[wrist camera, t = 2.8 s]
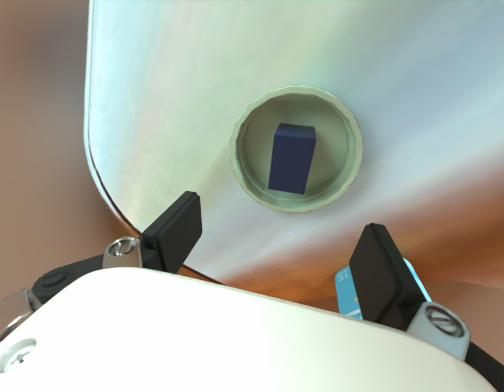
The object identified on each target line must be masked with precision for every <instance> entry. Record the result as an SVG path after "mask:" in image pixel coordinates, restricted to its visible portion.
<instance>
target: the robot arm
mask: <svg viewBox="0 0 504 392" xmlns="http://www.w3.org/2000/svg"><path fill="white" fill-rule="evenodd" d="M201 234H202V220H201V206H200V196H199V195H197V193H196V192H191V191H186V192H185V193H184V194H182V195H181V196H180V197H179V198H178V199H177V200H176V201H175V202H174V203H173V204H172V205H171V206H170V207H169V208H168V209H167V210H166V211H165V212H164V213H163V214H161V215H160V216H159V217H158V218H157V219H156V220H155V221H154V222H153V223H152V224H151V225H150V226H149V227H148V228H147V229H146V230H145V231H144V232H143V233H142V234H141V235H140V236H139V237H138V238H137V237H133V236H126V237H121V238H118V239H116V240H114V241H112V242H111V243H110V244H108V246H107V247H106V248H105V250H104V254H101V255H98V256H95V257H92V258H89V259H85V260H82V261H79V262H75V263H72V264H69V265H65V266H63V267H59V268H57V269H54V270H51V271H50V272H48V273H46V274H44V275H43V276H42V277H40V278H39V279H38V280H37V281H36V282H35V283H34V286H33V287H32V288H31V289H29V290H27V289H26V288H24V289H22V290H20V291H18V292H16V293H13V294H11V295H9V296H7V297H5V298H3V299H1V300H0V392H504V365H502V364H501V363H499V362H498V361H497V360H495V359H494V358H493V357H491V356H490V355H489V354H487V353H486V352H485V351H483V350H482V349H481V348H479V347H478V346H476V345H475V344H474V343H473V342H471V341H470V339H471V333H470V331H469V329H468V327H467V325H466V324H465V323H464V321H463V320H462V319H461V318H460V317H459V316H458V315H457V314H455V313H454V312H453V311H451V310H450V309H448V308H446V307H445V306H443V305H441V304H438V303H435V302H428V301H427V299H426V297H425V296H424V294H423V292H422V290H421V288H420V287H419V285H418V283H417V282H416V280H415V278H414V276H413V275H412V273H411V271H410V269H409V268H408V266H407V264H406V262H405V261H404V259H403V257H402V255H401V254H400V252H399V250H398V248H397V247H396V245H395V243H394V241H393V240H392V238H391V236H390V234H389V233H388V231H387V229H386V227H385V226H384V225H381V224H375V223H370V224H369V225H366V226H365V228H364V230H363V232H362V235H361V237H360V239H359V241H358V243H357V246H356V248H355V250H354V252H353V254H352V257H351V259H350V262H349V267H350V271H351V275H352V279H353V283H354V287H355V291H356V295H357V298H358V302H359V306H360V310H361V314H362V318H363V320H362V319H358V318H354V317H351V316H347V315H343V314H339V313H335V312H330V311H327V310H322V309H318V308H314V307H310V306H306V305H302V304H298V303H294V302H290V301H286V300H282V299H278V298H274V297H269V296H265V295H261V294H257V293H253V292H249V291H244V290H240V289H236V288H232V287H228V286H223V285H219V284H215V283H211V282H206V281H202V280H198V279H193V278H189V277H185V276H180V275H176V273H177V272H178V270H179V269H180V267H181V266H182V264H183V263H184V261H185V260H186V258H187V257H188V255H189V253H190V252H191V250H192V249H193V247H194V246H195V244H196V243H197V241H198V240H199V238H200V237H201Z"/></svg>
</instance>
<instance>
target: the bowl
mask: <svg viewBox="0 0 504 392" xmlns="http://www.w3.org/2000/svg"><path fill="white" fill-rule="evenodd" d="M280 123H284V124H294V125H303V126H312V127H314V129H315V134H316V139H317V140H316V144H315V149H314V153H313V158H312V162H311V166H310V171H309V175H308V180H307V184H306V188H305V193H304V195H301V194H295V193H289V192H283V191H276V190H270V189H268V183H269V174H270V166H271V157H272V148H273V140H274V134H275V132H276V130H277V128H278V126H279V124H280ZM362 158H363V137H362V134H361V131H360V129H359V126H358V123H357V121H356V118H355V116H354V114H353V113H352V112H351V111H350V110H349V109H348V108H347V107H346V106H345V105H344V104H343V103H342V102H341V101H340V99H339V98H337V97H335V96H334V95H332V94H330V93H328V92H326V91H324V90H321V89H319V88H317V87H314V86H305V85H290V86H286V87H283V88H279V89H275V90H272V91H270V92H267V93H266V94H265V95H263V96H262V97H260V98H259V99H257V100H256V101H254V102H253V103H252V104H250V105H249V106H248V107H247V109H246V110H245V111H244V113H243V114H242V115H241V117H240V118H239V119H238V121H237V122H236V125H235V128H234V131H233V134H232V137H231V140H230V162H231V165H232V168H233V172H234V175H235V178H236V179H237V181H238V182H239V184H240V185H241V187H242V188H243V190H244V191H245V192H246V193H247V194H248V195H249V196H251V197H252V198H253V199H254V200H255V201H257V202H258V203H260V204H262V205H264V206H266V207H268V208H271V209H273V210H277V211H283V212H288V213H297V212H309V211H312V210H315V209H318V208H320V207H323V206H326V205H328V204H329V203H331V202H332V201H334V200H335V199H336V198H338V197H339V196H341V195H342V194H343V193H344V192H345V191H346V189H347V188H348V187H349V186H350V184H351V183H352V182H353V180H354V179H355V178H356V175H357V172H358V170H359V167H360V164H361V161H362Z"/></svg>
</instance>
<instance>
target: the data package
mask: <svg viewBox="0 0 504 392" xmlns="http://www.w3.org/2000/svg"><path fill="white" fill-rule="evenodd" d="M403 259H404V258H403ZM404 261H405V262H406V264H407V266H408V268H409V269H410V271H411V273H412V275H413V276H414V278H415V280H416V282H417V283H418V285H419V287H420V288H421V290H422V292H423V294H424V296H425V297H426V299H427V301H428V302H432V301H431V299H430V297H429V295H428V294H427V292H426V290H425V289H424V287H423V285H422V283H421V281H420V280H419V278H418V276H417V274H416V273H415V271H414V269H413V267H412V266H411V264H410V263H409V262H408V261H407V260H406V259H404ZM335 285H336V292H337V299H338V305H339V312H340V314H343V315H347V316H351V317H354V318H358V319H362V320H363V318H362V314H361V310H360V306H359V302H358V298H357V295H356V291H355V287H354V283H353V279H352V275H351V271H350V267H349V266H347V267H345V268H344V269H342V270H340V271H339V272H338V273H337V274H336V276H335Z"/></svg>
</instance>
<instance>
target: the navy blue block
mask: <svg viewBox="0 0 504 392" xmlns="http://www.w3.org/2000/svg"><path fill="white" fill-rule="evenodd" d="M316 140H317V139H316V134H315V129H314V127H312V126H303V125H294V124H284V123H280V124H279V126H278V128H277V130H276V132H275V134H274V140H273V148H272V157H271V166H270V174H269V183H268V189H270V190H276V191H283V192H289V193H295V194H301V195H304V193H305V188H306V184H307V180H308V175H309V171H310V166H311V162H312V158H313V153H314V149H315V144H316Z"/></svg>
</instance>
